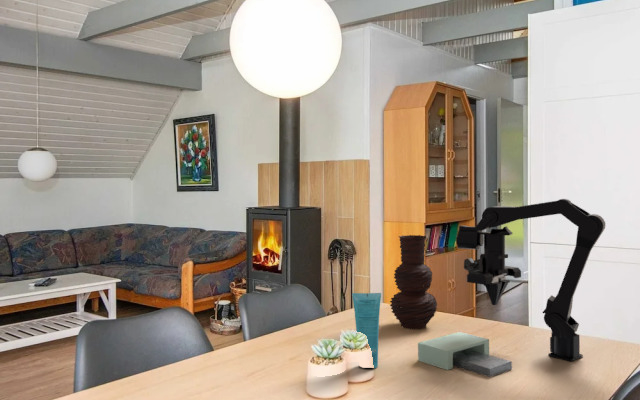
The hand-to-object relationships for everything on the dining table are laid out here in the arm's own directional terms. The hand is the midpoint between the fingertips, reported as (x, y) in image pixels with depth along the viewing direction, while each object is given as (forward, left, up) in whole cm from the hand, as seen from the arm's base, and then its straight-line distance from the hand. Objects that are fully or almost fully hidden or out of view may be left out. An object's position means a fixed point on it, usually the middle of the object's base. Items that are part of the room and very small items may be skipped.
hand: (494, 304), depth 161 cm
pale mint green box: (+1, +17, -12) cm, 21 cm away
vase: (+32, 0, -12) cm, 34 cm away
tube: (+11, +39, -12) cm, 42 cm away
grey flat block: (-6, +17, -12) cm, 22 cm away
